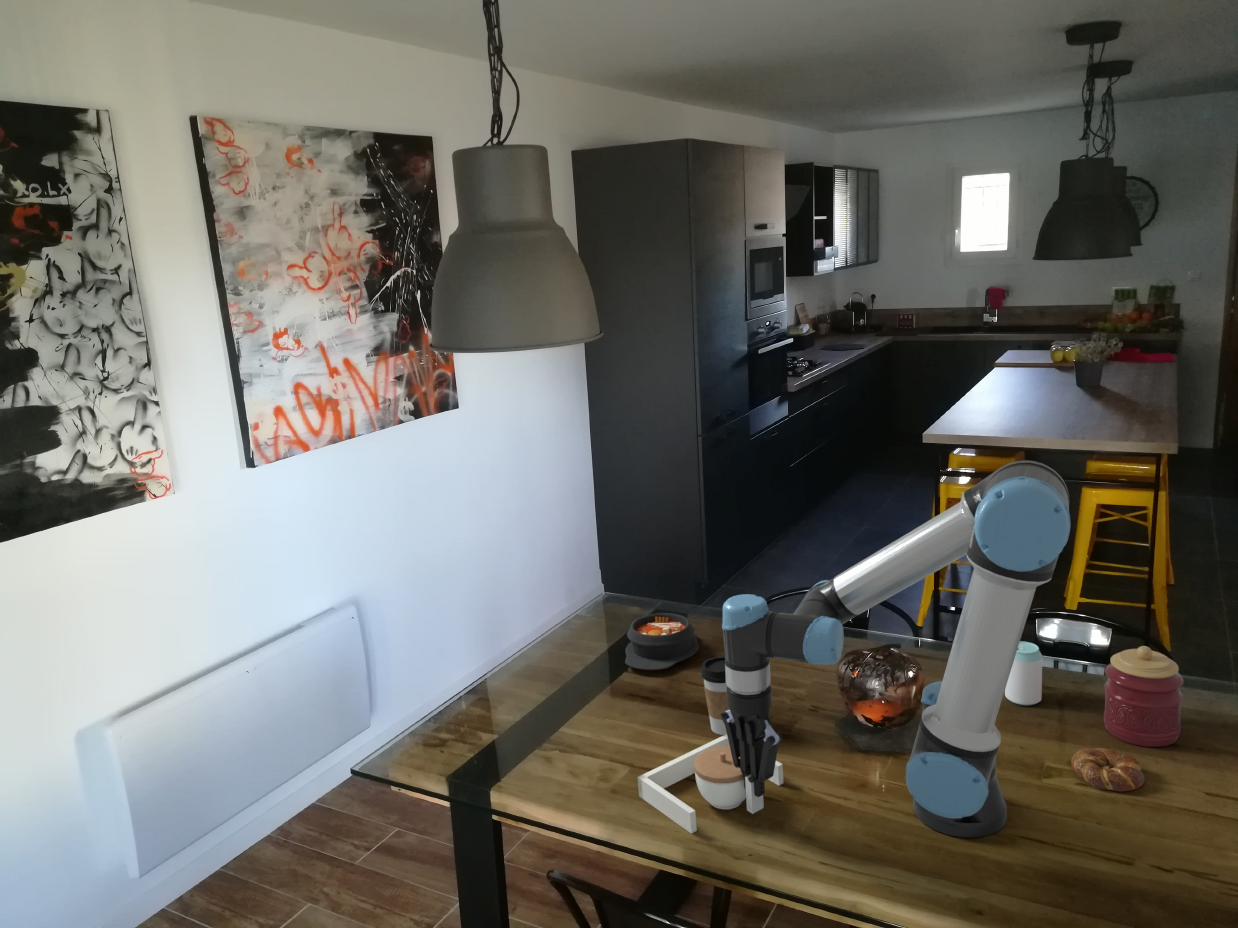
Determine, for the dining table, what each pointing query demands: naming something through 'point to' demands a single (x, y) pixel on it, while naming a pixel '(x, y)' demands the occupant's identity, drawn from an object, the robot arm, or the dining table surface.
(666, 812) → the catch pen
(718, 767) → the lidded jar
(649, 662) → the casserole
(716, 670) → the coffee cup
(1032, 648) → the can
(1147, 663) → the canister
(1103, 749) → the pretzel
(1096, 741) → the dining table surface
